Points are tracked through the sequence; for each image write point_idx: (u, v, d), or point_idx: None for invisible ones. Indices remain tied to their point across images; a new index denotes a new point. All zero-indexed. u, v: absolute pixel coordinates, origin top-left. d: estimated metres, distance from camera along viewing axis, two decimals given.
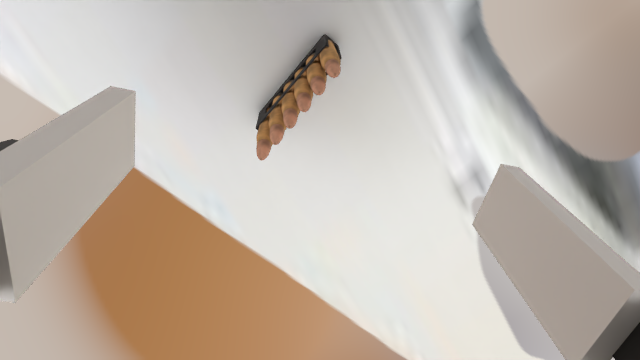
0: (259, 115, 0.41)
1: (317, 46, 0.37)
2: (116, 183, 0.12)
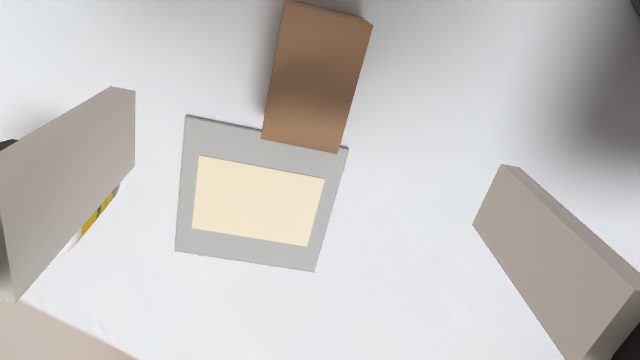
0: None
1: None
2: (116, 183, 0.12)
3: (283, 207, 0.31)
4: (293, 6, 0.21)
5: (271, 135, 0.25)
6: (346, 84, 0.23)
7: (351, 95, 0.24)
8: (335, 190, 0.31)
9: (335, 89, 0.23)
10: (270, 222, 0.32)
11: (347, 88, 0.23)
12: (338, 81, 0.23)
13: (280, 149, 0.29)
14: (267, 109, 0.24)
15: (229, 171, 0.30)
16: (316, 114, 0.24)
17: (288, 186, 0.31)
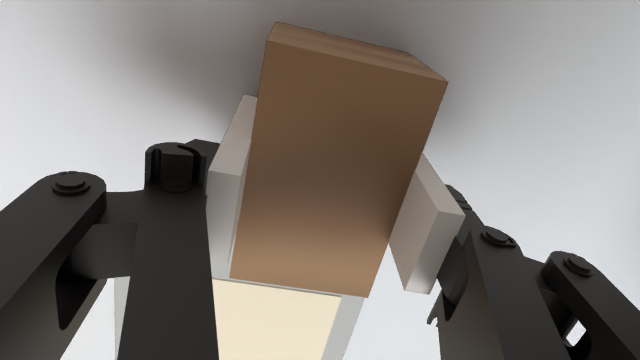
0: None
1: None
2: None
3: (277, 335, 0.21)
4: (285, 46, 0.10)
5: (249, 272, 0.13)
6: (390, 189, 0.12)
7: (397, 206, 0.13)
8: (357, 311, 0.20)
9: (367, 196, 0.12)
10: (257, 353, 0.21)
11: (391, 195, 0.12)
12: (373, 184, 0.12)
13: None
14: (240, 232, 0.13)
15: None
16: (331, 237, 0.13)
17: (284, 308, 0.20)
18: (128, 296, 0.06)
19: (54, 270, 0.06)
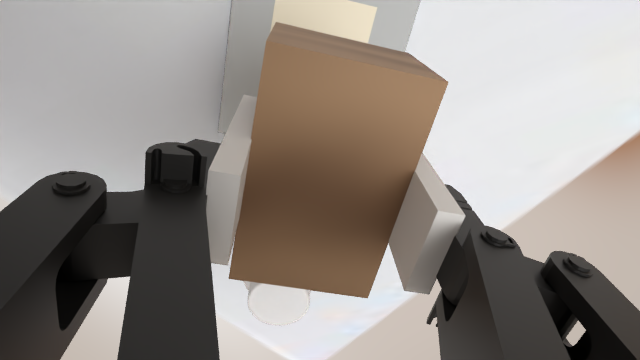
0: None
1: None
2: None
3: None
4: (285, 47, 0.10)
5: (248, 272, 0.13)
6: (389, 189, 0.12)
7: (397, 206, 0.13)
8: None
9: (367, 197, 0.12)
10: None
11: (391, 195, 0.12)
12: (373, 184, 0.12)
13: (243, 38, 0.26)
14: (240, 232, 0.13)
15: None
16: (331, 238, 0.13)
17: None
18: (128, 296, 0.06)
19: (54, 270, 0.06)
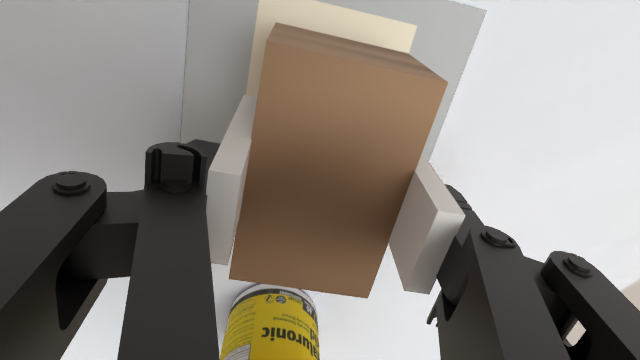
0: None
1: None
2: None
3: None
4: (285, 47, 0.10)
5: (248, 273, 0.13)
6: (389, 189, 0.12)
7: (397, 207, 0.13)
8: None
9: (367, 197, 0.12)
10: None
11: (391, 195, 0.12)
12: (373, 184, 0.12)
13: (208, 72, 0.17)
14: (240, 232, 0.13)
15: None
16: (331, 238, 0.13)
17: None
18: (128, 296, 0.06)
19: (54, 270, 0.06)
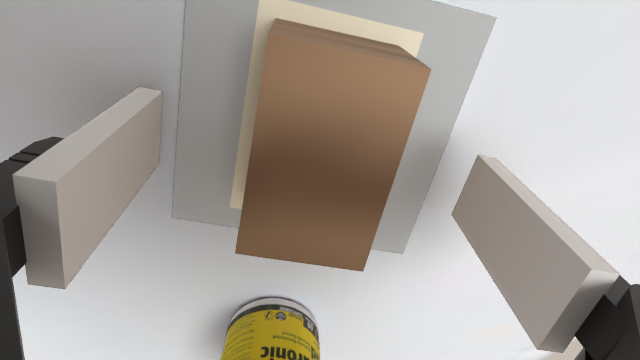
0: None
1: None
2: (144, 179, 0.13)
3: None
4: (284, 38, 0.11)
5: (253, 247, 0.15)
6: (381, 168, 0.13)
7: (388, 184, 0.14)
8: None
9: (360, 175, 0.14)
10: None
11: (382, 174, 0.14)
12: (366, 164, 0.13)
13: (205, 82, 0.16)
14: (245, 209, 0.14)
15: None
16: (328, 214, 0.14)
17: None
18: None
19: None
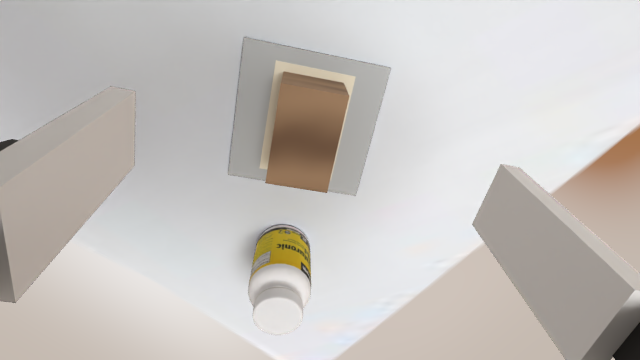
0: None
1: None
2: (116, 183, 0.12)
3: None
4: (287, 85, 0.28)
5: (274, 180, 0.31)
6: (331, 140, 0.30)
7: (335, 147, 0.30)
8: (288, 49, 0.31)
9: (322, 143, 0.30)
10: None
11: (332, 142, 0.30)
12: (325, 137, 0.30)
13: (248, 102, 0.33)
14: (270, 160, 0.30)
15: None
16: (308, 162, 0.31)
17: None
18: None
19: None
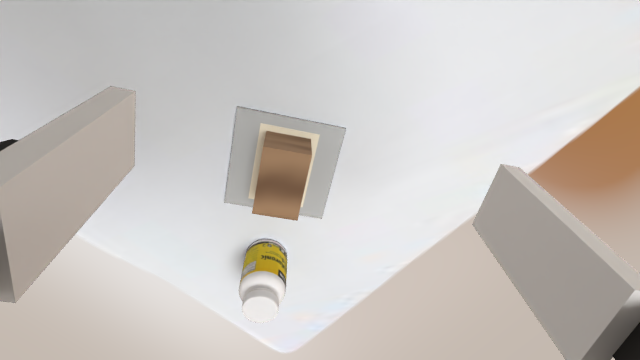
0: None
1: None
2: (116, 183, 0.12)
3: None
4: (267, 147, 0.39)
5: (258, 211, 0.43)
6: (300, 184, 0.41)
7: (303, 189, 0.42)
8: (270, 115, 0.42)
9: (293, 186, 0.41)
10: None
11: (300, 186, 0.41)
12: (295, 183, 0.41)
13: (240, 151, 0.44)
14: (255, 198, 0.42)
15: None
16: (283, 199, 0.42)
17: None
18: None
19: None
